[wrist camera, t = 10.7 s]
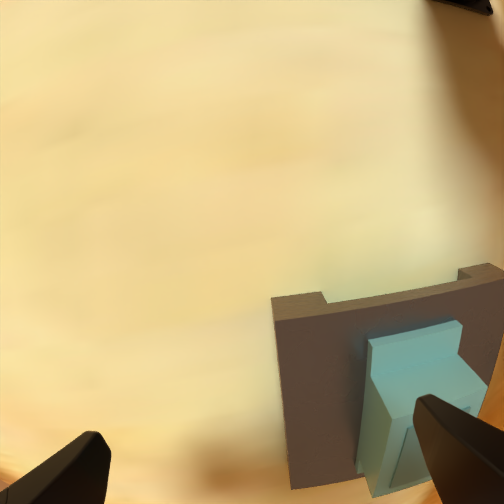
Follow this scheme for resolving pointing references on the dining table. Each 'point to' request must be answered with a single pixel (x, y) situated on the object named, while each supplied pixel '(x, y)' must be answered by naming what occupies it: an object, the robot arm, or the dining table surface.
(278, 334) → the stand
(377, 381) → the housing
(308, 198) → the dining table surface
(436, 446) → the robot arm
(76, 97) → the dining table surface
